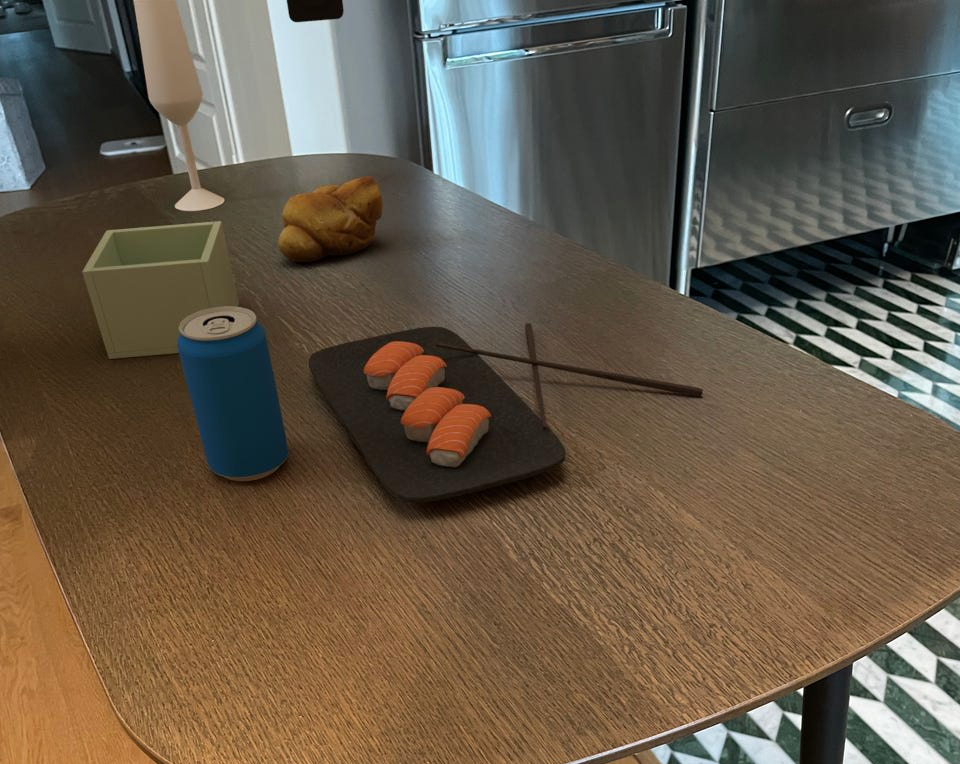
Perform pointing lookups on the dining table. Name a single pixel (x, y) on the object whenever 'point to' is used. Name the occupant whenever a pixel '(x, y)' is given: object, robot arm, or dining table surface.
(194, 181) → the champagne flute
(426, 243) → the dining table surface
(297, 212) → the bread roll
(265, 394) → the beverage can
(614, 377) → the sushi plate
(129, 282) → the trash bin
